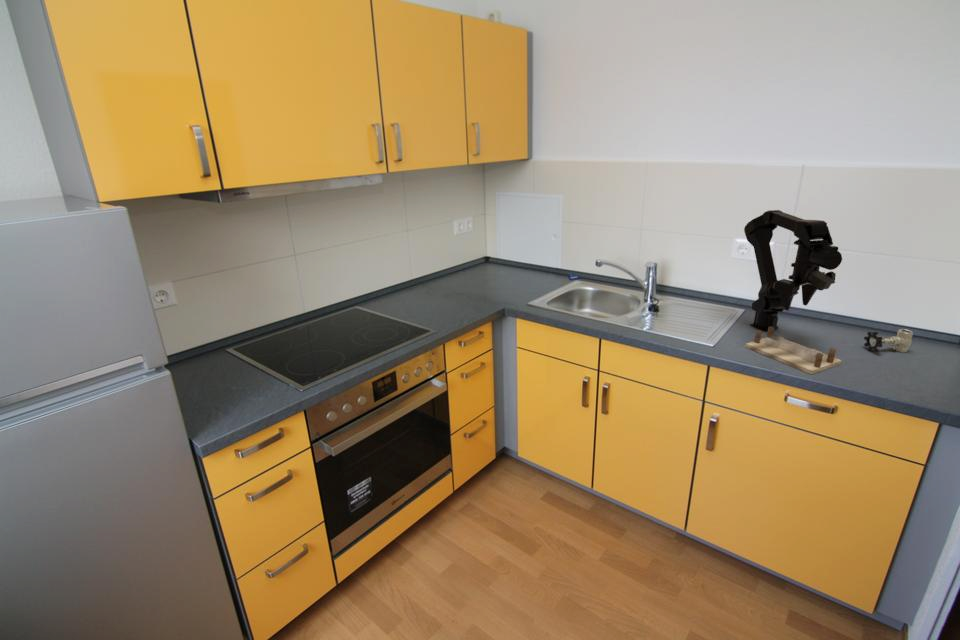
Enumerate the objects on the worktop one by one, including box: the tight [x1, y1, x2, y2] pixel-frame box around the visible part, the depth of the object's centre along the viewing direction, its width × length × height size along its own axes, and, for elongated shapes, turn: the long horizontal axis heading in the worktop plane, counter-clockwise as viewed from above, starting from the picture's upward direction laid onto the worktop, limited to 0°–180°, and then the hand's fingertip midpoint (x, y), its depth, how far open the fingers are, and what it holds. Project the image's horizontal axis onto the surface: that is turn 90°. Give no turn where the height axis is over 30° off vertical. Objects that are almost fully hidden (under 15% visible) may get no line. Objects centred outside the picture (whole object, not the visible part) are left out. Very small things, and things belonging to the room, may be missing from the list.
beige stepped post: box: [765, 334, 823, 363], centre depth 157 cm, size 16×4×2 cm, turn 26°
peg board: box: [744, 327, 843, 375], centre depth 157 cm, size 22×14×5 cm, turn 26°
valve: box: [863, 328, 914, 353], centre depth 157 cm, size 7×7×12 cm
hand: (795, 307), depth 163 cm, fingers open, 9 cm apart
